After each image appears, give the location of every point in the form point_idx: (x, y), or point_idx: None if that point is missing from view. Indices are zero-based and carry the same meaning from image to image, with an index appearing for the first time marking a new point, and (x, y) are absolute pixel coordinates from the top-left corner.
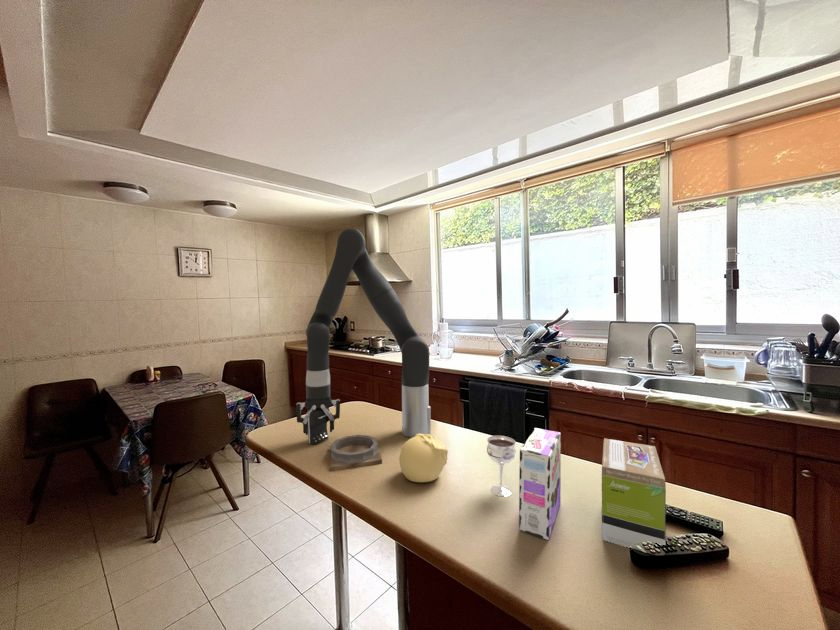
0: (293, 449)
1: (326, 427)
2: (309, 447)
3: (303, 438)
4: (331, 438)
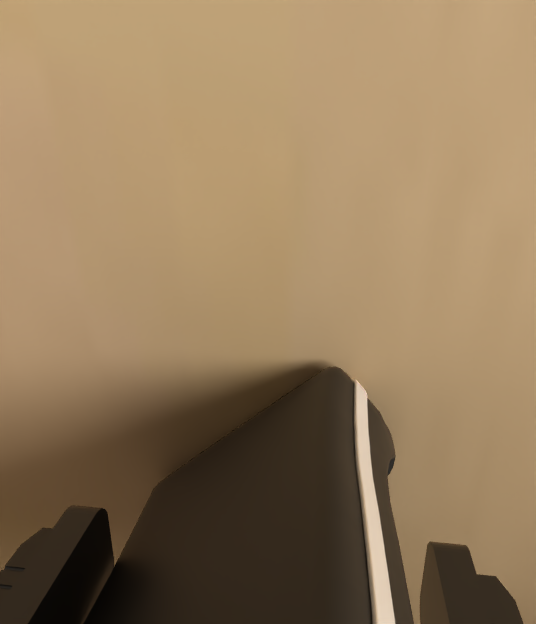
0: None
1: (384, 504)
2: None
3: (80, 317)
4: (432, 442)
